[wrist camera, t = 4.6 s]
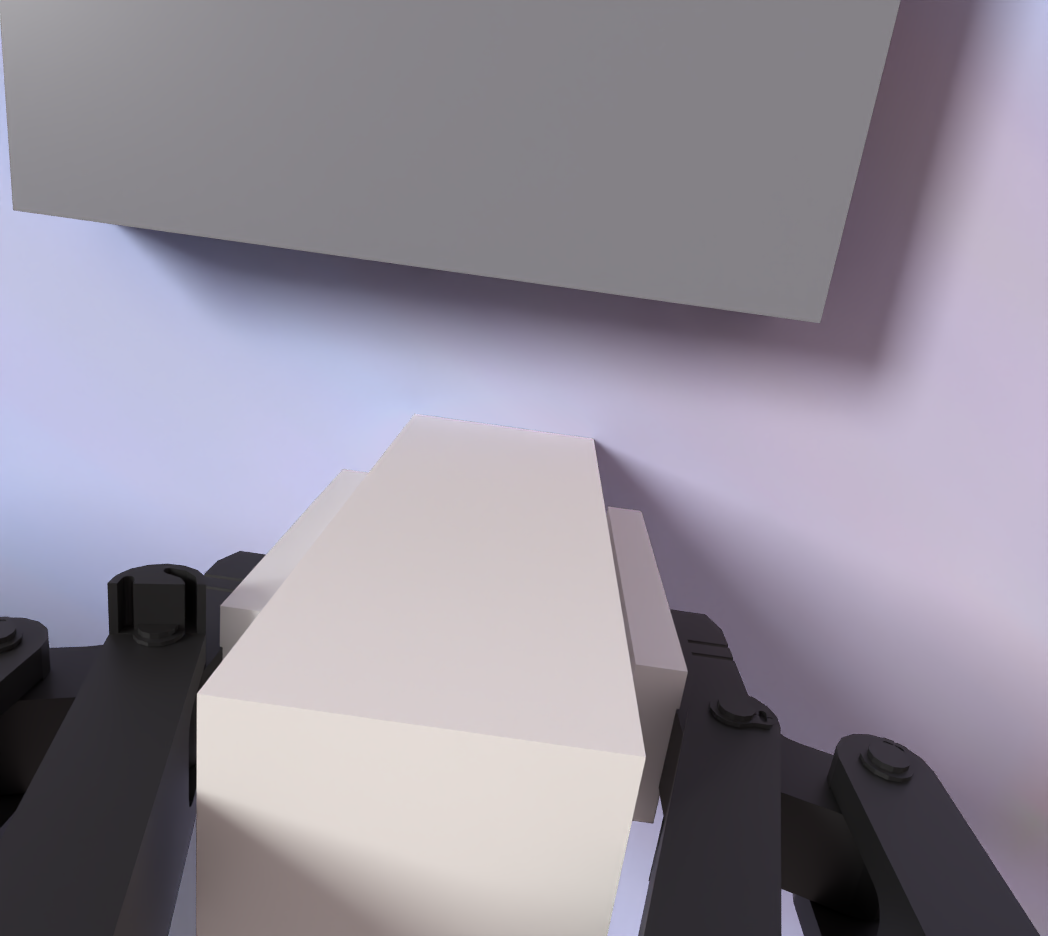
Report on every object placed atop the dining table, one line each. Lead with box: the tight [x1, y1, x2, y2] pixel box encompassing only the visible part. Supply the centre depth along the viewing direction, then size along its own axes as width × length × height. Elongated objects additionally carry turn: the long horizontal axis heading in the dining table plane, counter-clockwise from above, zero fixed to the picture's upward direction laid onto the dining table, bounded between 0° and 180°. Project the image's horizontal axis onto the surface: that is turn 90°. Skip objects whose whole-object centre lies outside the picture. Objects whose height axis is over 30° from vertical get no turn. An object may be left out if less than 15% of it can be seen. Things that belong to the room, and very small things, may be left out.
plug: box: [196, 414, 646, 936], centre depth 14 cm, size 4×4×12 cm
